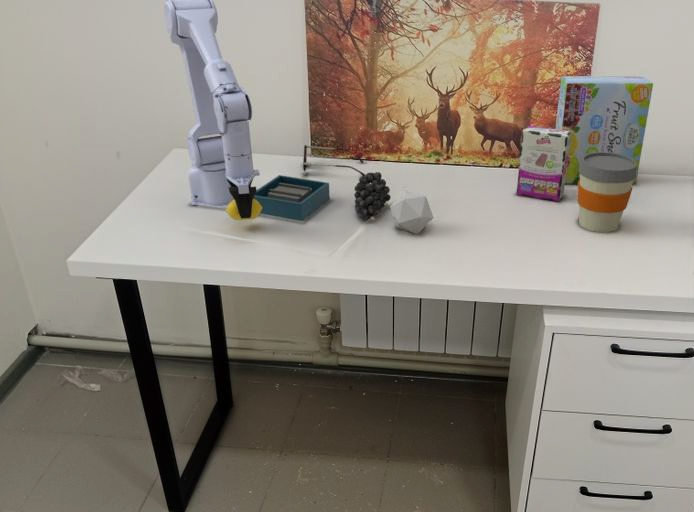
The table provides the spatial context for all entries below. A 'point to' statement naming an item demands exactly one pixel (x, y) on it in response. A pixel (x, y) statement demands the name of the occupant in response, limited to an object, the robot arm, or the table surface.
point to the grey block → (290, 192)
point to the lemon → (234, 212)
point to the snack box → (603, 117)
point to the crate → (289, 207)
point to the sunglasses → (324, 164)
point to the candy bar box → (543, 162)
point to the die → (411, 212)
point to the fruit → (370, 195)
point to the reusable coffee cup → (604, 189)
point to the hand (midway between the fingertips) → (244, 213)
